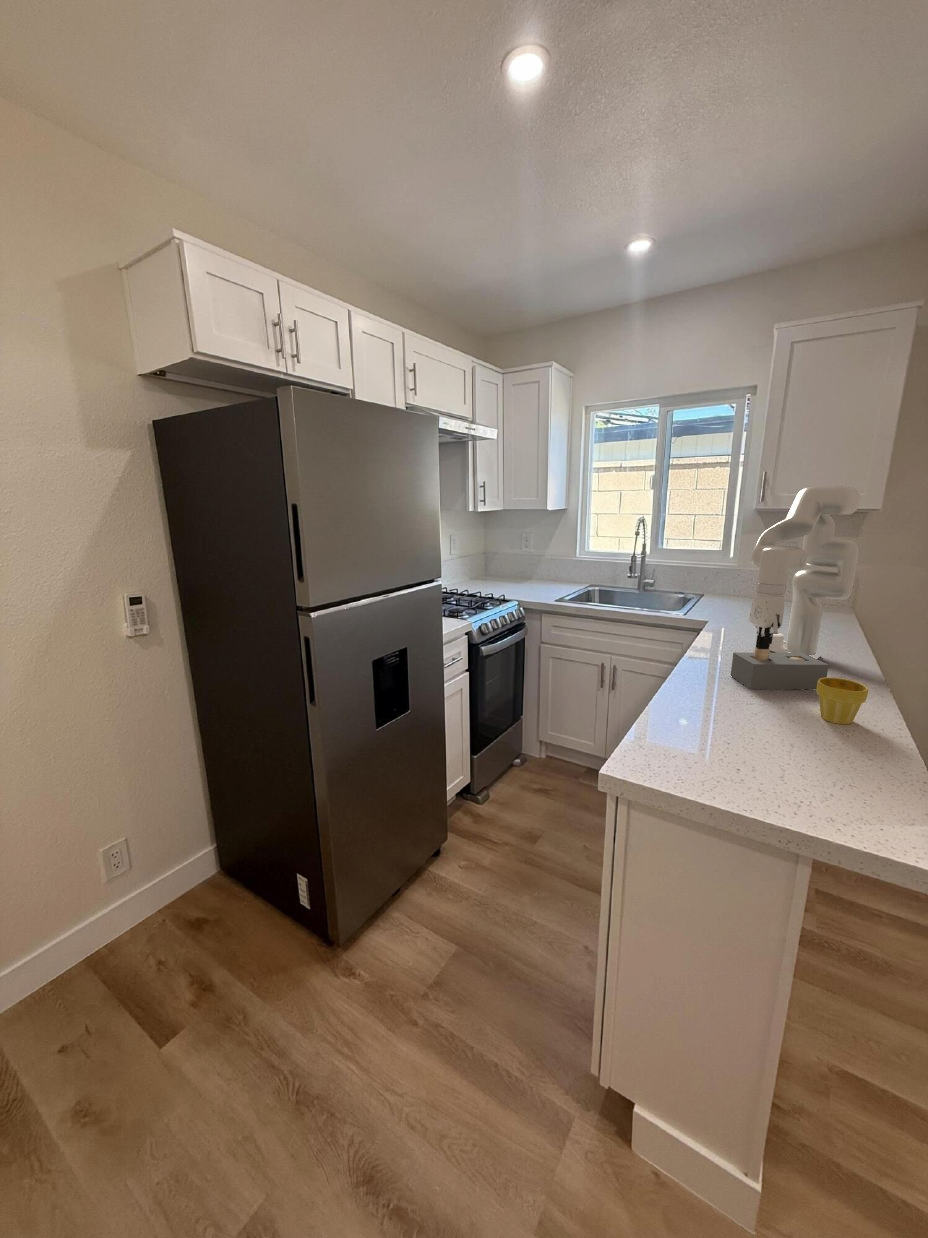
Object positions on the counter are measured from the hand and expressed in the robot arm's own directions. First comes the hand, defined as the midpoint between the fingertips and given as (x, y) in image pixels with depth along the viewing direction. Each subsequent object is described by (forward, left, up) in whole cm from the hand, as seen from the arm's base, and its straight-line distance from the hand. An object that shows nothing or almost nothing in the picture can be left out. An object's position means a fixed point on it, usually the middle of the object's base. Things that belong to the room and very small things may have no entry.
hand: (762, 648), depth 152 cm
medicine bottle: (-16, +13, -12) cm, 23 cm away
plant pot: (+27, +6, -12) cm, 30 cm away
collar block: (0, +6, -11) cm, 13 cm away
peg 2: (0, +11, -11) cm, 15 cm away
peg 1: (0, 0, -7) cm, 7 cm away
